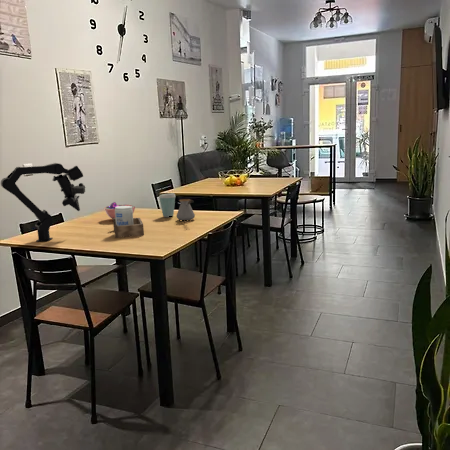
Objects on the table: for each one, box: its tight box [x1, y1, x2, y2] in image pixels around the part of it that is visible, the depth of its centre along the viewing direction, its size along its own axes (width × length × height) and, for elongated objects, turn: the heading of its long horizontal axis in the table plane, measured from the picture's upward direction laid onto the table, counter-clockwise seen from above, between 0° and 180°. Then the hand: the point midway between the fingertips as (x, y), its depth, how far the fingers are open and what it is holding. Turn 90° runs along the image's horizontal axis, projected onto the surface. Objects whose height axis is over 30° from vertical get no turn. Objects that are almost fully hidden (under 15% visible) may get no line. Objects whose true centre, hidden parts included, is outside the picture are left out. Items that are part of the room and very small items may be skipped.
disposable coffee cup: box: [158, 192, 176, 218], centre depth 292 cm, size 11×11×15 cm
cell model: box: [103, 201, 136, 220], centre depth 287 cm, size 17×20×11 cm
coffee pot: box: [176, 198, 196, 221], centre depth 273 cm, size 21×12×15 cm, turn 21°
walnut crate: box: [112, 217, 145, 239], centre depth 250 cm, size 15×21×7 cm
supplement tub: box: [115, 205, 134, 226], centre depth 248 cm, size 10×10×15 cm
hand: (79, 210), depth 246 cm, fingers closed
